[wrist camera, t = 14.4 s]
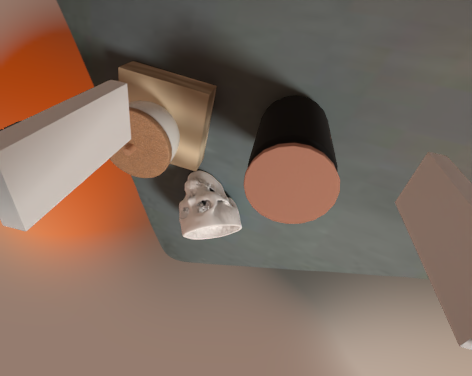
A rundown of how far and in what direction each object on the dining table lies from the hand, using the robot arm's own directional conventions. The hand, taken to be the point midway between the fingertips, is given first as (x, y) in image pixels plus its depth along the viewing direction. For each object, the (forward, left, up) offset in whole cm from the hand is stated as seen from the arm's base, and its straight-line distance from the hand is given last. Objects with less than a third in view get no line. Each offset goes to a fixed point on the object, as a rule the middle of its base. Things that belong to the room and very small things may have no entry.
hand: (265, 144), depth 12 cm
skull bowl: (+31, -7, -33) cm, 46 cm away
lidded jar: (+15, -17, -28) cm, 36 cm away
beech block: (+15, -17, -33) cm, 40 cm away
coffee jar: (+12, +4, -33) cm, 35 cm away
